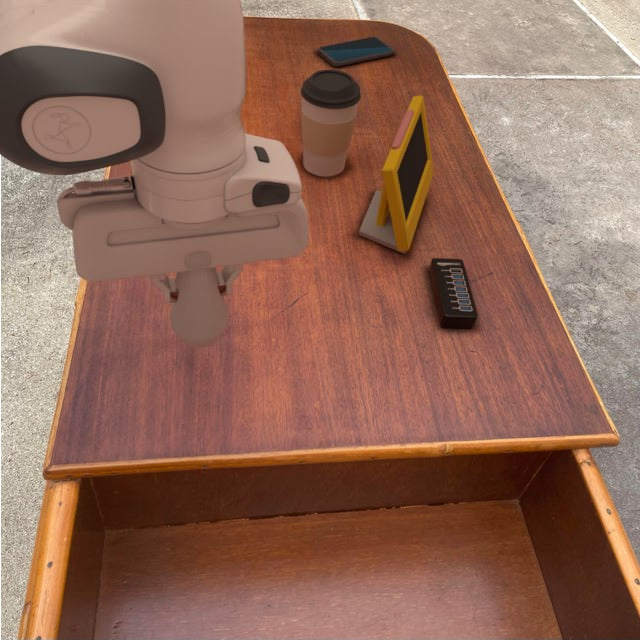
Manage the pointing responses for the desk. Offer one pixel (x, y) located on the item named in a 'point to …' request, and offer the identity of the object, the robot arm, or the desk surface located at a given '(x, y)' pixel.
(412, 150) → the toy computer monitor
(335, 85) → the coffee cup
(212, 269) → the salt shaker
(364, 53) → the smartphone
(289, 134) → the desk surface
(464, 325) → the multiport hub
